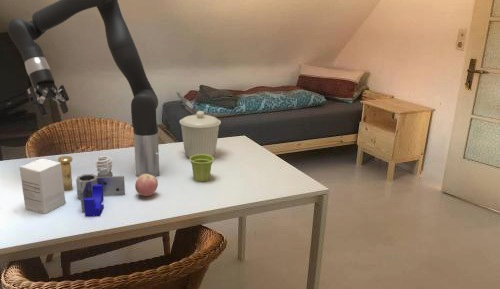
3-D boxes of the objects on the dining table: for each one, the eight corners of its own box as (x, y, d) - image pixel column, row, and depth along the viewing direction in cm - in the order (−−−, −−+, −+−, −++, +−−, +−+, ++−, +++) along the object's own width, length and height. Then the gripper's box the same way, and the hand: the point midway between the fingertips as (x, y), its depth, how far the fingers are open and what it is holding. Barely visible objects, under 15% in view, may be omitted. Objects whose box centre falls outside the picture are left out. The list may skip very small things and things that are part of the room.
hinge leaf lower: (99, 191, 156) (98, 173, 154) (94, 211, 141) (92, 192, 139) (79, 192, 154) (78, 174, 152) (72, 213, 140) (70, 193, 138)
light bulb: (116, 184, 162) (114, 154, 158) (107, 190, 157) (105, 159, 153) (104, 182, 164) (102, 152, 160) (94, 187, 159) (92, 157, 155)
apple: (146, 202, 149) (145, 181, 147) (130, 196, 153) (129, 175, 150) (162, 194, 156) (161, 174, 153) (147, 189, 159) (146, 169, 157)
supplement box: (46, 198, 149) (41, 157, 145) (66, 203, 146) (62, 162, 141) (24, 208, 141) (18, 166, 137) (44, 214, 138) (39, 171, 133)
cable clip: (99, 216, 139) (98, 199, 137) (85, 216, 138) (83, 199, 136) (108, 200, 150) (106, 184, 148) (94, 200, 149) (93, 184, 148)
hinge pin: (75, 186, 159) (72, 155, 156) (73, 191, 155) (70, 160, 151) (62, 186, 158) (59, 156, 155) (60, 192, 154) (56, 160, 150)
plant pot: (217, 177, 173) (218, 157, 170) (205, 185, 165) (206, 164, 162) (197, 172, 177) (197, 152, 174) (185, 180, 169) (184, 159, 166)
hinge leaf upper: (125, 190, 158) (124, 172, 156) (124, 198, 151) (123, 180, 149) (79, 192, 154) (78, 174, 152) (76, 200, 148) (75, 182, 146)
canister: (204, 147, 207) (204, 104, 201) (228, 157, 195) (229, 112, 188) (172, 154, 196) (171, 109, 189) (195, 166, 183) (195, 118, 177)
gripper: (27, 68, 147) (44, 112, 147) (62, 67, 159) (78, 108, 159) (15, 77, 151) (32, 120, 150) (50, 76, 163) (66, 115, 163)
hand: (55, 114), depth 155 cm, fingers open, 8 cm apart
